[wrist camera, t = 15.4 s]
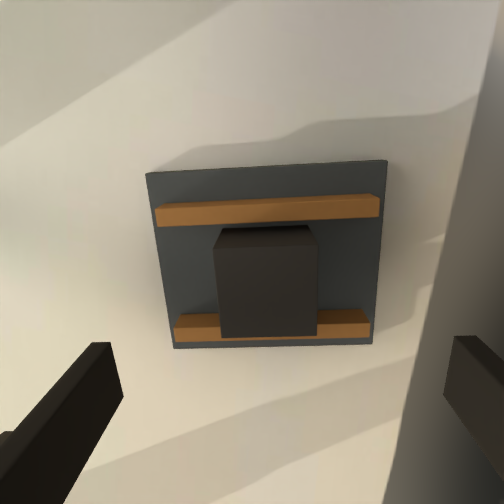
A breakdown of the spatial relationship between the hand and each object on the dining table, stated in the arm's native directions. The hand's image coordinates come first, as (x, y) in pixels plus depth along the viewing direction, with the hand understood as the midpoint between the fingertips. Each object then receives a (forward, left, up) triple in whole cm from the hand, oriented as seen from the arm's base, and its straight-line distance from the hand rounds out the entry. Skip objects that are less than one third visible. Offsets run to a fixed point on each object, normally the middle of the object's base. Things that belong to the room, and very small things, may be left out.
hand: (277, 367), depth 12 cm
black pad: (0, 0, -11) cm, 11 cm away
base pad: (0, 0, -12) cm, 12 cm away
